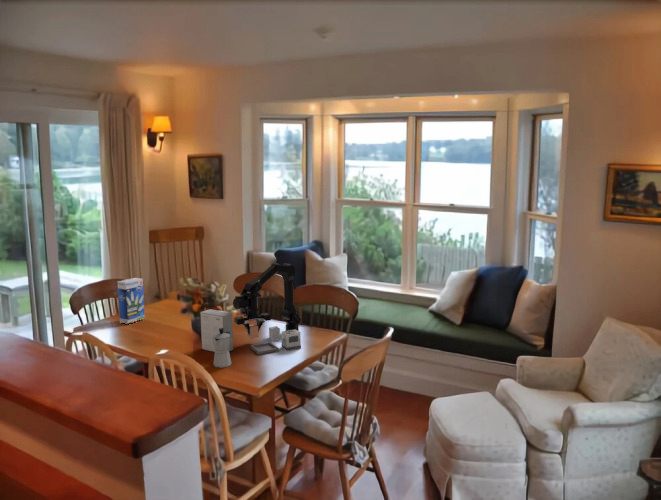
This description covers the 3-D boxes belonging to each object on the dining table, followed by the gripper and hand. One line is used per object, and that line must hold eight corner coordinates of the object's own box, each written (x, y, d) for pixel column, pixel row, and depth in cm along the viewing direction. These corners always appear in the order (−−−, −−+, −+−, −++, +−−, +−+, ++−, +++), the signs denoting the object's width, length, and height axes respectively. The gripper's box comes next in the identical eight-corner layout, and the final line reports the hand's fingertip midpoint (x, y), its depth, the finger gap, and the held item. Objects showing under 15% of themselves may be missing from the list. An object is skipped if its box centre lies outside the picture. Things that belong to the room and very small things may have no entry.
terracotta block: (255, 334, 304) (255, 323, 303) (258, 337, 301) (258, 326, 300) (247, 335, 302) (247, 325, 301) (250, 338, 298) (250, 327, 297)
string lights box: (127, 325, 333) (124, 282, 329) (119, 323, 337) (116, 281, 333) (145, 319, 344) (143, 278, 340) (137, 318, 348) (134, 277, 344)
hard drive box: (233, 350, 291) (232, 312, 288) (224, 354, 285) (222, 316, 282) (211, 344, 299) (209, 308, 296) (201, 349, 293) (199, 312, 289)
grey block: (276, 336, 313) (276, 326, 312) (279, 339, 309) (279, 328, 308) (269, 337, 311) (269, 327, 310) (272, 340, 307) (272, 329, 306)
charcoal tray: (270, 345, 299) (270, 341, 299) (278, 351, 289) (278, 348, 289) (251, 348, 294) (251, 345, 294) (258, 354, 284) (258, 351, 284)
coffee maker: (224, 370, 264) (223, 333, 261) (207, 368, 267) (206, 331, 264) (238, 359, 278) (237, 324, 275) (222, 357, 281) (221, 322, 278)
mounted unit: (295, 344, 300) (295, 329, 299) (300, 348, 294) (300, 332, 293) (281, 346, 296) (281, 331, 295) (286, 350, 290) (286, 334, 289)
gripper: (263, 300, 310) (263, 327, 313) (230, 304, 301) (231, 332, 304) (270, 305, 300) (271, 333, 303) (237, 309, 292) (238, 338, 294)
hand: (253, 334), depth 301 cm, fingers closed on terracotta block, 4 cm apart
